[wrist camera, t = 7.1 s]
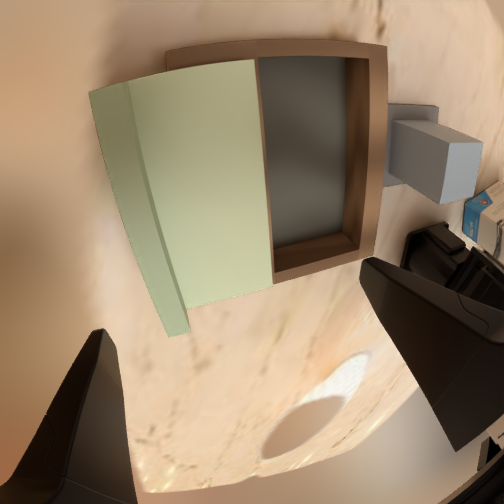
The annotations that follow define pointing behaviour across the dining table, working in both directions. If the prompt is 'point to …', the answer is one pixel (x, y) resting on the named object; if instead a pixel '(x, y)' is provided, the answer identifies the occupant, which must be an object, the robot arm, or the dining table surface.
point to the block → (434, 159)
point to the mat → (404, 114)
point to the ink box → (487, 220)
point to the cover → (189, 183)
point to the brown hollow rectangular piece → (314, 144)
